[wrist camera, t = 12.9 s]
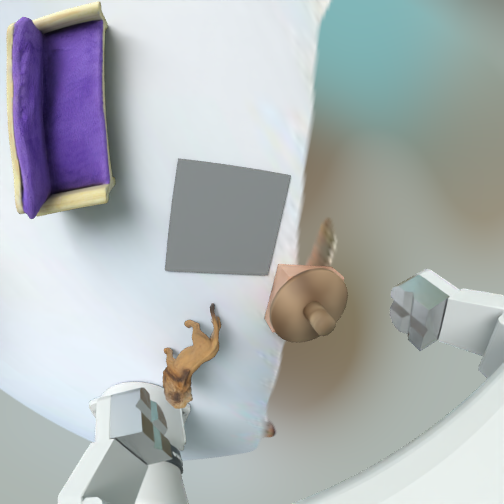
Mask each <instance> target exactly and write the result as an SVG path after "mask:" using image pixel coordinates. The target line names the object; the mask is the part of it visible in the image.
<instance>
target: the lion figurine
mask: <svg viewBox="0 0 504 504" xmlns="http://www.w3.org/2000/svg"><path fill="white" fill-rule="evenodd" d="M210 313H211V316H212V319H211V322H212V323H213V326H214V330H213V332H212V334H211V336H210V338H209V337H208V336H207V335H206V334H204V333H203V332H202V331H201V330H200V325H199V323H197V322H194V321H192V320H187V321H185V326H186V327H188V328H190V327H193V334H192V340H193V346H190V347H187V348H185V349H184V350H182V351H181V352H180V354H179V355H178V357H177V358H176V359H175V358H173V350H172V349H171V348H165V349H164V352H165V354H167V359H166V363H167V367H166V369H165V370H164V371H163V387H164V395H165V399H166V400H167V401H168V403H169V404H171V405H172V406H173V407H174V408H175V409H180V408H185V407H186V405H187V403H189V402H190V401H192V400H193V398H192V394H191V377H192V374H193V373H194V372H195V371H196V370H197V369H198V368H199V367H200V365H201V364H203V363H204V362H206V361H209V360H211V359H212V358H213V357H215V355H216V354H217V352H218V350H219V340H218V339H219V330H220V328H221V322H220V318H219V317H218V316H215V314H214V303H212V304H211V306H210Z"/></svg>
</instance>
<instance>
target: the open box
mask: <svg viewBox="0 0 504 504" xmlns="http://www.w3.org/2000/svg"><path fill="white" fill-rule="evenodd" d="M314 268H324V269H328V270H331V271H333V272H334V273H336V274H337V275H338V276H339V277H340V278H341V279H342V280H344V277H343V276H342V275H341V274H340V273H339V272H337V271H336V270H335V269H334V268H333V267H328V266H307V265H286V264H278V267H277V271H276V275H275V279H274V283H273V287H272V291H271V295H270V298H269V302H268V306H267V310H266V314H265V320H266V322H267V324H268V325H269V327H270V329H271V331H272V332H275V330H274V329H273V327H272V325H271V322H270V317H269V312H270V307H271V303H272V301H273V299H274V297H275V295H276V293H277V292H278V291H279V289H280V288H281V287H282V286H283V285H284V284H285V283H286V282H287V281H288V280H289V279H291V278H292V277H293V276H295V275H297V274H299V273H301V272H303V271H306V270H309V269H314Z"/></svg>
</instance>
